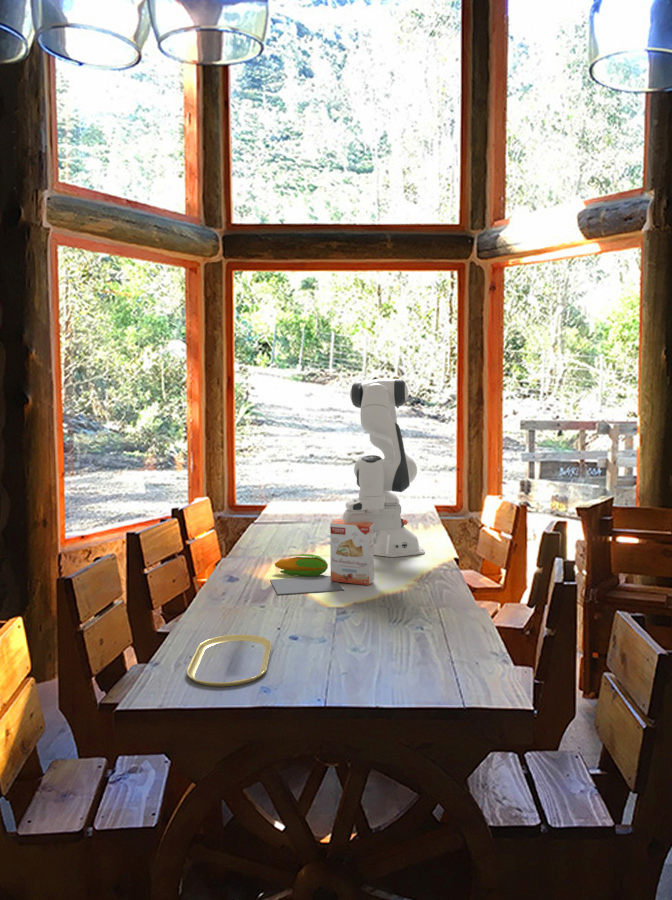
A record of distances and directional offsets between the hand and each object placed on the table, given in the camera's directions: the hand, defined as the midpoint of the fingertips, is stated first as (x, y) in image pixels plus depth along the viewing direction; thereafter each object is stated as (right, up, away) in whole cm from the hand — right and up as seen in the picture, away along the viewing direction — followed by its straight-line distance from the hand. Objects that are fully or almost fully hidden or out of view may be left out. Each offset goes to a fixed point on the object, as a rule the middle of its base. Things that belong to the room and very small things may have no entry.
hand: (372, 543), depth 273 cm
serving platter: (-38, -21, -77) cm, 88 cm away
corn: (-25, -13, +12) cm, 31 cm away
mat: (-23, -14, -3) cm, 27 cm away
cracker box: (-7, -13, 0) cm, 15 cm away
